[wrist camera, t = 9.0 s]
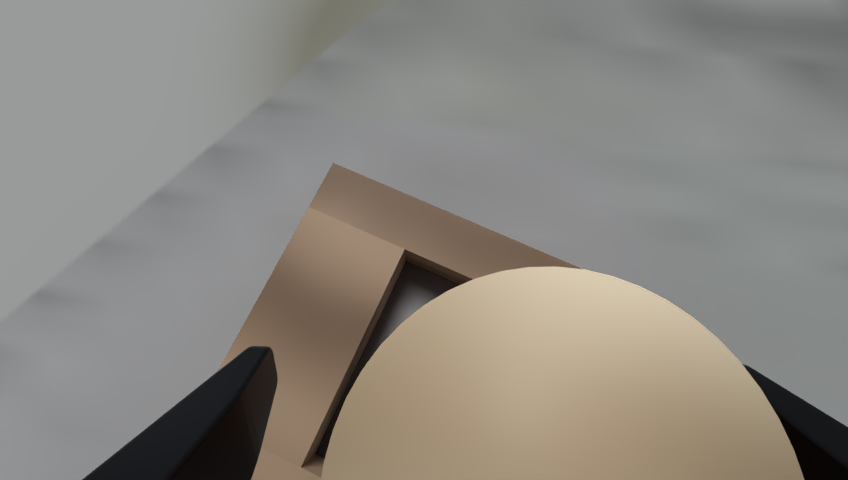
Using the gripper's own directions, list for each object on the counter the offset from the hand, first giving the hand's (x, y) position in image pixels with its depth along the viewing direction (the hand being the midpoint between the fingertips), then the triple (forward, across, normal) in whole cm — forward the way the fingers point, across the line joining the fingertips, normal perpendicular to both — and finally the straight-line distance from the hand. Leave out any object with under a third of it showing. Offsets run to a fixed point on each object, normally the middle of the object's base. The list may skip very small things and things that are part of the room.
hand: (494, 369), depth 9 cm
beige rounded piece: (+5, 0, +7) cm, 8 cm away
